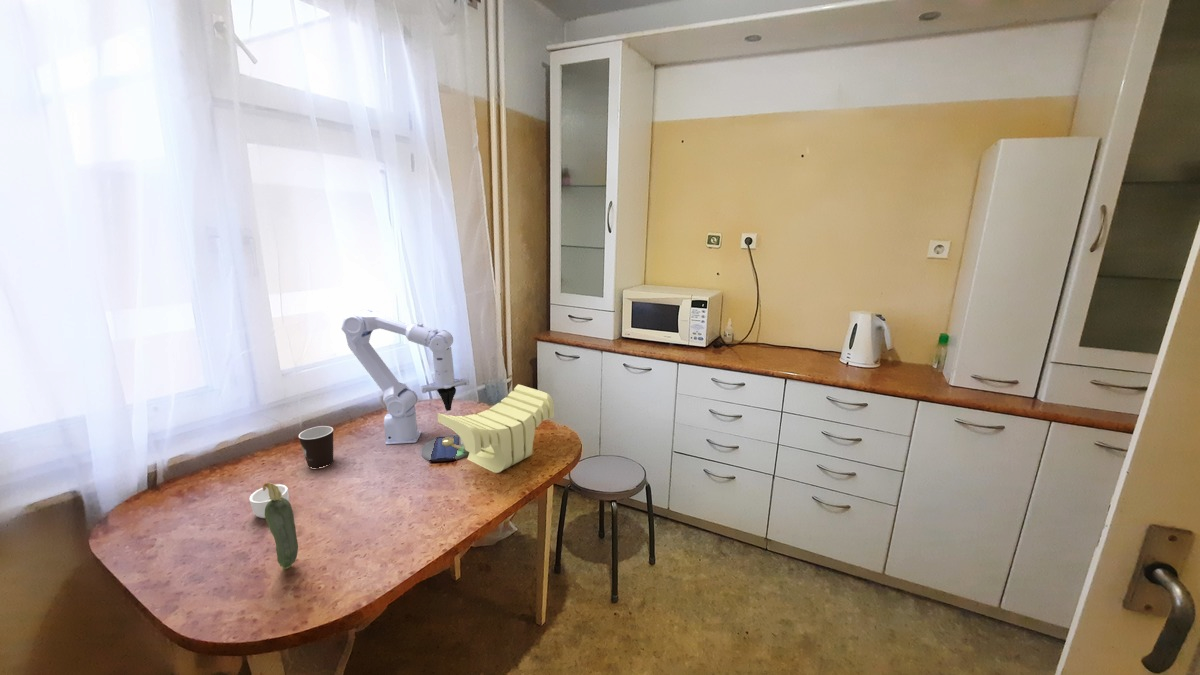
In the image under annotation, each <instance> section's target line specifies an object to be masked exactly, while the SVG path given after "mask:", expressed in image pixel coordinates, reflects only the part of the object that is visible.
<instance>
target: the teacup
mask: <svg viewBox="0 0 1200 675" xmlns="http://www.w3.org/2000/svg"><path fill="white" fill-rule="evenodd" d="M275 485H276V486H277V487H278V488H279V491H280V492H281V494H282V496H281V497H283V498H285V499H286V500H288V501H289V502H290V493H289V488H288V487H287V486H286V485H284V484H280V483H279V484H275ZM269 498H270V497H269V493H268V488H267V487H266V489H265V491H263V487H261V488H259V489H257V490H255V491H254V492H252V493H251V494H250V496H249V500H248V502H249V504H250V508H251V509H252V514H254V516H256V517H258V518H261V519H266V518H265V507H266V505H267V503H268V502H269V501H270V500H271V499H269Z"/></svg>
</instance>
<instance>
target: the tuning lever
mask: <svg viewBox="0 0 1200 675" xmlns="http://www.w3.org/2000/svg"><path fill="white" fill-rule="evenodd" d="M460 442H461V446H459V445H456V444H454V438H453V437H445V438H443V439H442V445H443V446H445V447H449V446H452V447H454V448H456V449H458V450H461V452H468V451H466V450H465V447H464V443H463V441H462V439H461V438H460Z"/></svg>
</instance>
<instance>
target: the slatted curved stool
mask: <svg viewBox="0 0 1200 675" xmlns="http://www.w3.org/2000/svg"><path fill="white" fill-rule="evenodd" d="M554 403H555V402H554V400H553V398H552V396H551V395H550V394H549V393H547V392H544V391H542V390H538V389H536V388H532V387H528V386H525V385H522V384H519V383H518V384H517V385H516V386H515V387H514V388H513V390H512V391H510V392H509V393H508V394H507V397H506V396H505V397H504V398H503V399H501V400H500V402H497V403H496V404H494V405H493V406H491V407H489V409H486V410H482V411H481V412H477V414H475V413H473V414H466V415H464V416H462V415H455V416H454V415H450V414H443V413H438V412H437V420H438V423H439V424H441V425H443V426H445V427H447V428H449V429H450V430H452V431H453V432H454V433H456V435H459V436H460V438H461V439H462V441H463V443H464V447H465V450H466V451H468V452H469V455H468V456H467V458H466V460H467V461H470V462H472V463H473V464H475V465H478V466H480V467H482V468H484V469H486V470H488V471H490V472H491V473H494V474H498V473H501V472H503V471H504V470H506V469H508V468H510V467H512V466H513V465H515V464H517V463H519V462H521V461H523V460H525V459H526V458H528V457H530V456H532V455H533V449H534V447H533V446H534V439H535V434H536V428H538V427H539V426H540V425H541V424H542V421H543V422H545V421H547V420H548V419H553V418H555V404H554Z"/></svg>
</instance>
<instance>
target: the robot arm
mask: <svg viewBox="0 0 1200 675" xmlns="http://www.w3.org/2000/svg"><path fill="white" fill-rule="evenodd" d="M379 329H381V330H384V331H389V332H390V333H391V332H392V333H395V334H398V335H402V336H405V337H406V339H407V340H408V342H412V343H415V344H419V345H421V346H423V347H427V348H429V349H430V351H431V352H432V359H433V360H432V361H433V368H434V369H433V370H434V378H435V382H432V383H428V384H424V385H420V387H421V388H420V389H421V394H426V393H428V392H435V391H437V393H438V395H439V397H440V398H441V400H442V402H443V405H444V409H445V411H446V412H448V411H452V403H453V400H454V397H455V395H456V393H457V387H463V386H470V379H469V378H468V377H464V378H455V371H454V370H455V369H454V359H453V351H452V345H453V343H454V337H453V334H452V333H451V332H449V331H448V330H445V329H442V330H439V329H437V328H431V327H428V326H424V324H423V323H421V322H418V323H413V324H410V325H409V324H407V323H405V322H401V321H399V320H397V319H394V318H392V317H389V316H386V315H384V314H382V313H380V312H379V311H373V310H371V309H363V310H360V311H359V312H356V313H354V314H348V315H347V316H345V318H343V322H342V326H341V330H342V332H343V333H344V335H345V337H346V339H345V340H346V342H347V346H348V348H349V349H350V351H351V352H352V353H353V355H354V356H355V357H356V359H357V360H358V362H360V364H361V365H362V367H363V368H364V369H365V370H366V371H367V373H368V374H369V375H370V377H371V378H372V380H374V382H375V383H376V384H377V386H378V387H379V388H380V390H381V391H382V393H383V394H382V395H383V398H382V401H383V403H384V405H385V406H386V410H387V412H388V413H386V414H385V416H384V420H383V429H384V437H385V443H384V444H385V445H396V444H398V445H399V444H411V443H415V444H416V443H417V442H418V439H419V438H420V436H421V434H422V430H418V423H417V422H418V420H417V411H416V404H417V403H418V400H419V398H418V395H417V393H416V392H415V391H414V390H412V389H411V388H410V387H409V386H408V385H407V384H405V383H402V382H401V381H399V380H398V379H397V377H396V376H395V375H394V374H393V372H392V371H391V370H390V368H389V367H388V366H387V365H386V363H385V361H384V360H383V359H382V357H381V356H380V355H379V354H378V352H377V351H376V350H375V349H374V347H373V346H372V345H371V343H370V339H371V335H372V334H373V332H374V330H375V331H376V330H379Z"/></svg>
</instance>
